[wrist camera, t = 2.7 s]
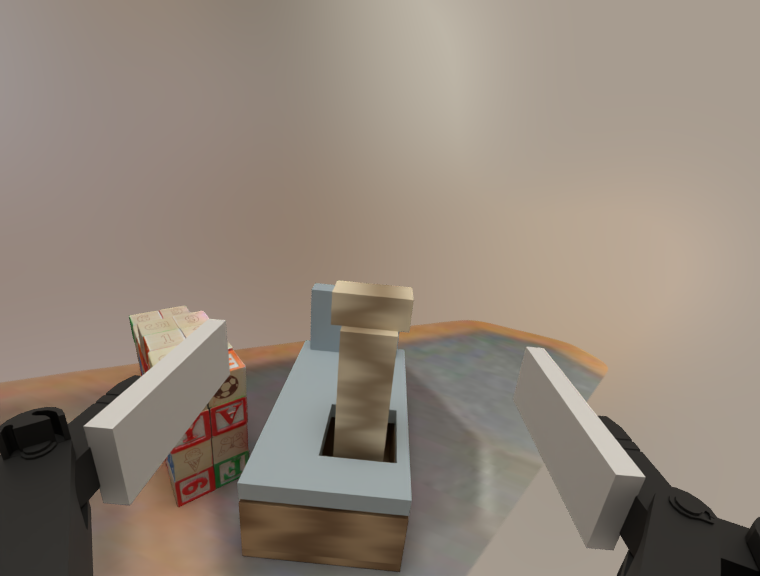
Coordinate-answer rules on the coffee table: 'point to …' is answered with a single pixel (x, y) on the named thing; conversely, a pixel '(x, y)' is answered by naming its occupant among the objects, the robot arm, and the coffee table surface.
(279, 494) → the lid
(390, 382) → the key
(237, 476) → the stack of blocks
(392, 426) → the wooden box
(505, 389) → the coffee table surface
